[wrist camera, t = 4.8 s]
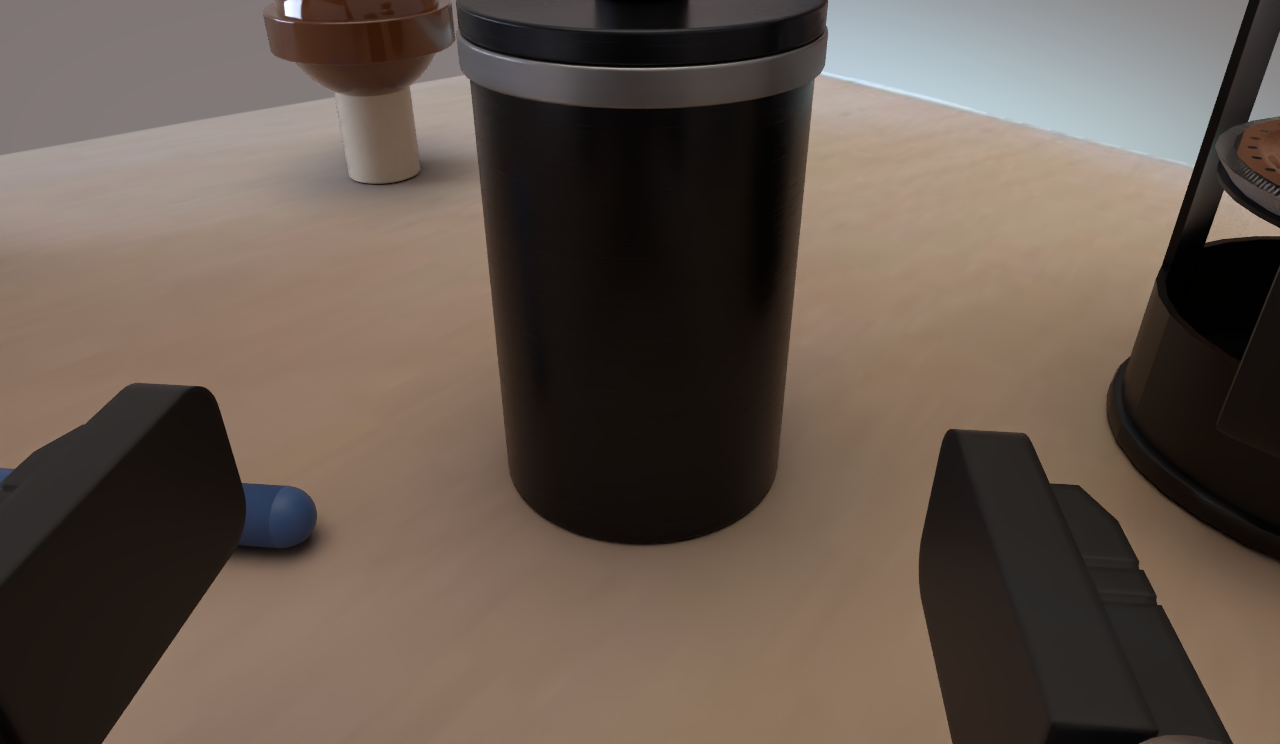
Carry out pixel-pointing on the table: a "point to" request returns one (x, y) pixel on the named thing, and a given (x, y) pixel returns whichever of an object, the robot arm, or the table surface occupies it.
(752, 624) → the table surface
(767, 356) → the pot
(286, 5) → the mushroom
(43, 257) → the table surface
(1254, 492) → the french press
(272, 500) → the round blue paddle
